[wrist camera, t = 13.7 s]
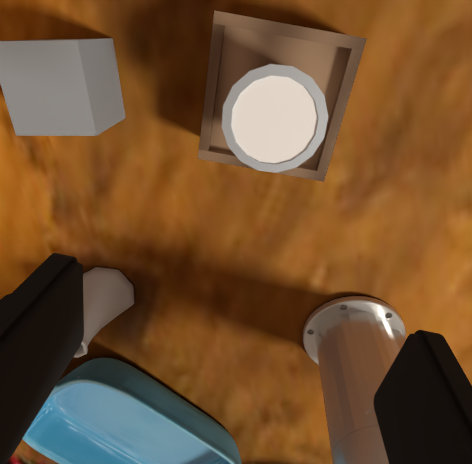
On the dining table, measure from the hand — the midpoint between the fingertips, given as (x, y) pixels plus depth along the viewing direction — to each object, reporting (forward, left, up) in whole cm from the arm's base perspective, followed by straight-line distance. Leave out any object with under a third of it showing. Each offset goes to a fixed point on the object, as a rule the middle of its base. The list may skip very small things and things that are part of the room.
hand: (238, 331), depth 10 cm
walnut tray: (-1, -3, -28) cm, 28 cm away
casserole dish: (+9, +50, -29) cm, 58 cm away
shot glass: (-1, -3, -24) cm, 24 cm away
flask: (+15, +24, -29) cm, 41 cm away
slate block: (+17, -1, -28) cm, 33 cm away
